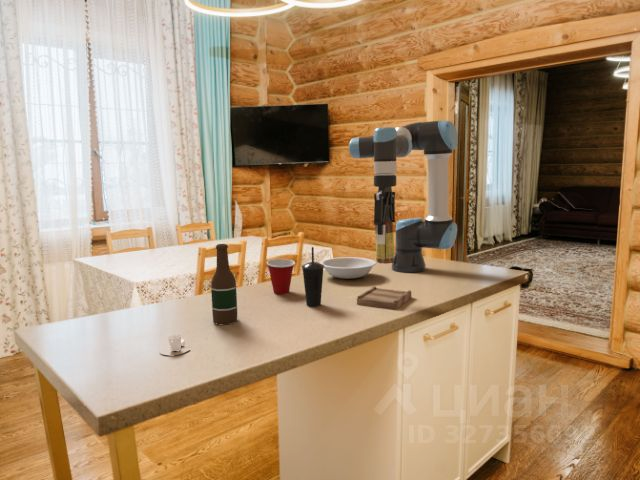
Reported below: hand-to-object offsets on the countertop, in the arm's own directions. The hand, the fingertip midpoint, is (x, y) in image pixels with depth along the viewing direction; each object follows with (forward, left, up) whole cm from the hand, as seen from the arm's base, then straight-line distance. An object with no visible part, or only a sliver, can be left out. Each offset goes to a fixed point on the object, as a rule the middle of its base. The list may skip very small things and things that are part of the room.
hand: (384, 242), depth 162 cm
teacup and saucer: (+64, -31, -21) cm, 74 cm away
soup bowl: (-27, -27, -21) cm, 44 cm away
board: (0, 0, -21) cm, 21 cm away
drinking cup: (+15, -20, -21) cm, 32 cm away
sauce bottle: (0, 0, -7) cm, 7 cm away
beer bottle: (+42, -36, -21) cm, 59 cm away
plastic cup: (+6, -39, -21) cm, 45 cm away
